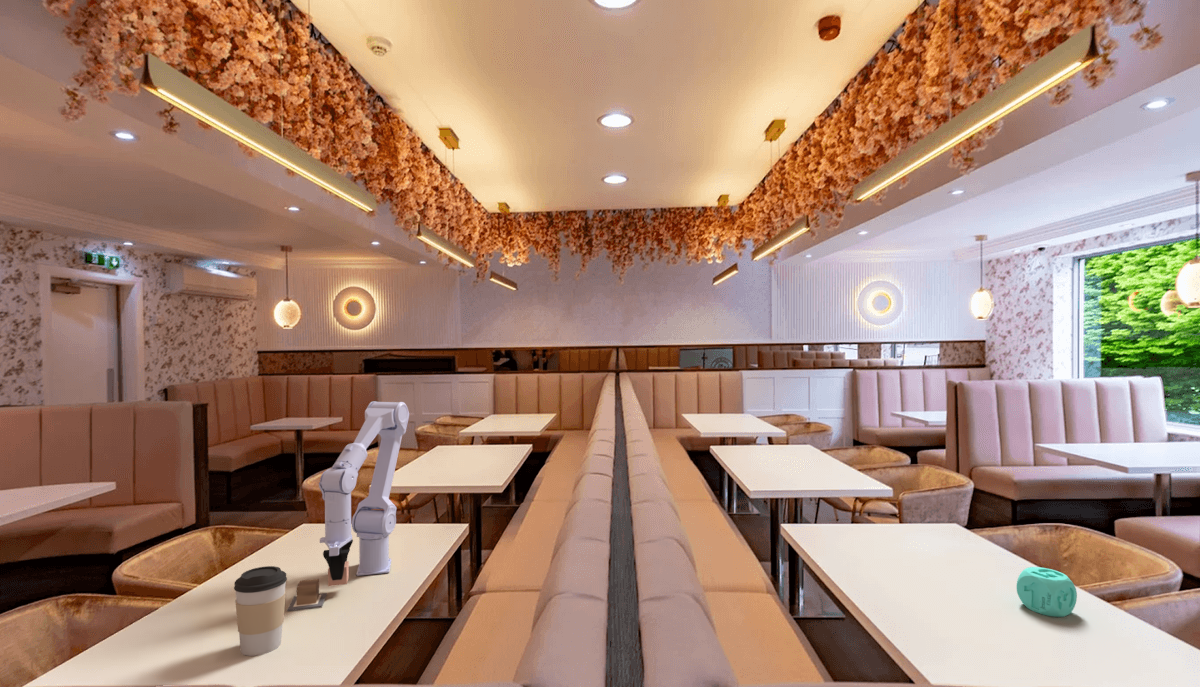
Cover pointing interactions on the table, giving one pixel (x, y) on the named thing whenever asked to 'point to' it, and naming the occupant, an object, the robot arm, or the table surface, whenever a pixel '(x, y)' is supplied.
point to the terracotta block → (344, 578)
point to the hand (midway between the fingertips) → (338, 575)
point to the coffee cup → (260, 609)
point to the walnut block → (307, 591)
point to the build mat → (318, 604)
